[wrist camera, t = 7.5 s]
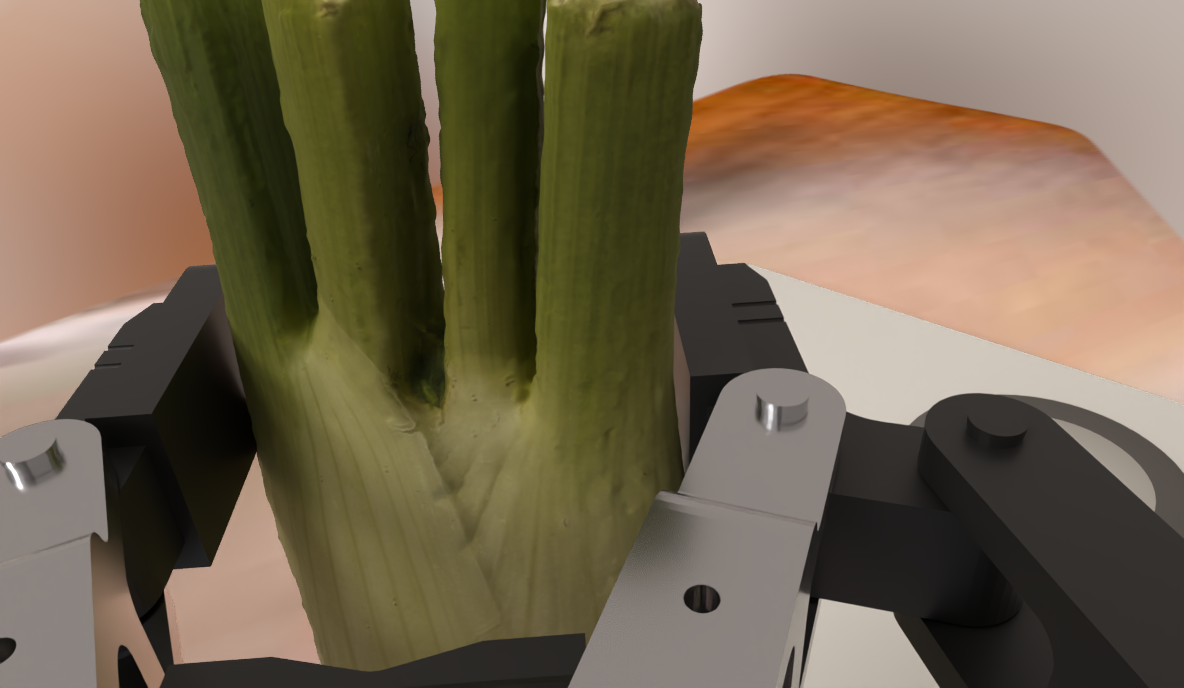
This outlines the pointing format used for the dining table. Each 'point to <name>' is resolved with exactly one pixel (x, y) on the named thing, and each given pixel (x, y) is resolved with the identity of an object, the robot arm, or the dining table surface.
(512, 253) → the fennel bulb
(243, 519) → the dining table surface
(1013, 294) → the dining table surface
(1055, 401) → the gauge board
